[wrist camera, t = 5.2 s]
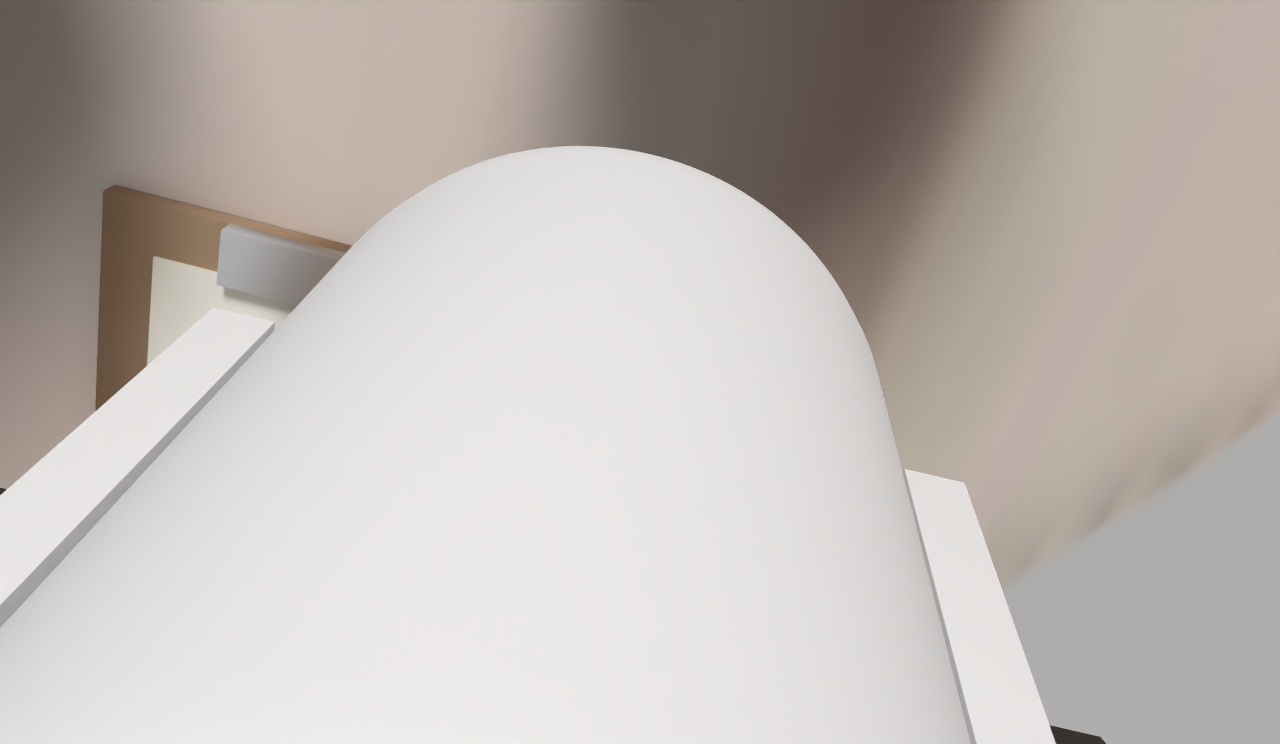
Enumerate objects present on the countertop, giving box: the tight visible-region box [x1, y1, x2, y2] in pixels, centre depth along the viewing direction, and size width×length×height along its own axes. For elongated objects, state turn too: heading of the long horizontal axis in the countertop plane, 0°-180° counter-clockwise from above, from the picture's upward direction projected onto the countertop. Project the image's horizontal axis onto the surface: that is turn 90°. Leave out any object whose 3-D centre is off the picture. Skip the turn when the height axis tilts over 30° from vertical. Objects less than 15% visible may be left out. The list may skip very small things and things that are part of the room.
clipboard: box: [96, 185, 352, 411], centre depth 34 cm, size 12×14×1 cm
